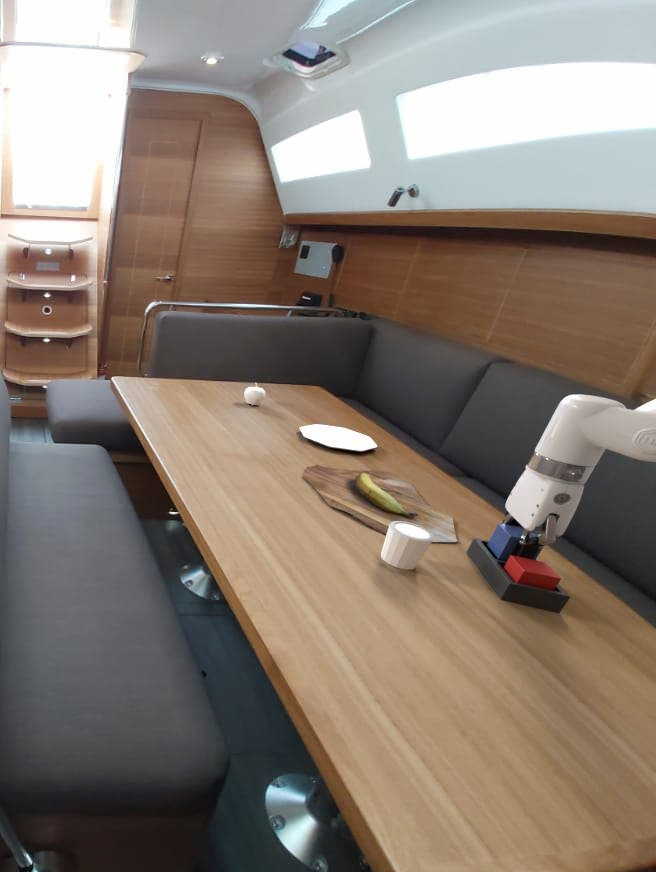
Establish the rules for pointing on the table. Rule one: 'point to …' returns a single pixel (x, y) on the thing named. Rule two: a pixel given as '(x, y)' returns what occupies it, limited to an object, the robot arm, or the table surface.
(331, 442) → the plate
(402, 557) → the white cup
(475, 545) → the tray
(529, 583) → the red block
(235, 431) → the table surface
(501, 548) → the blue block
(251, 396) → the plain white apple
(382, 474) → the cutting board
